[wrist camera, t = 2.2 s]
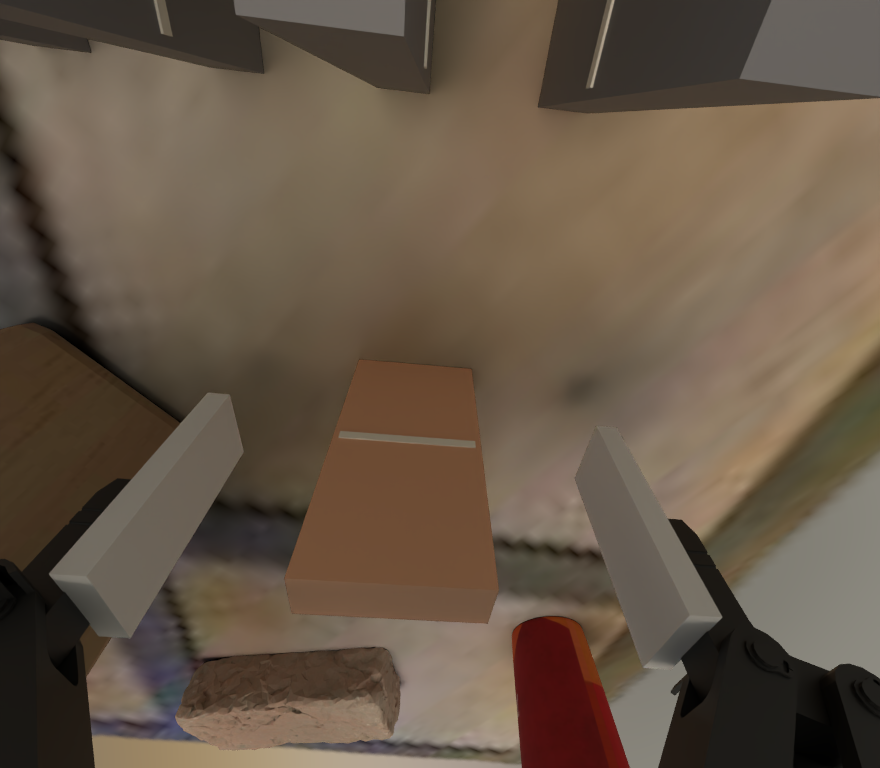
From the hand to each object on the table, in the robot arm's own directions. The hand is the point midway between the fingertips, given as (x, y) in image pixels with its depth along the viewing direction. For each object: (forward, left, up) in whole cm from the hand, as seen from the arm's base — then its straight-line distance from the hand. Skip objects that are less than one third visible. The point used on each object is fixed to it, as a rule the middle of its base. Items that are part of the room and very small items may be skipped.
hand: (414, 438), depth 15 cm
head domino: (0, 0, -4) cm, 4 cm away
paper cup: (+12, -23, -4) cm, 26 cm away
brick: (-8, -32, -5) cm, 34 cm away
